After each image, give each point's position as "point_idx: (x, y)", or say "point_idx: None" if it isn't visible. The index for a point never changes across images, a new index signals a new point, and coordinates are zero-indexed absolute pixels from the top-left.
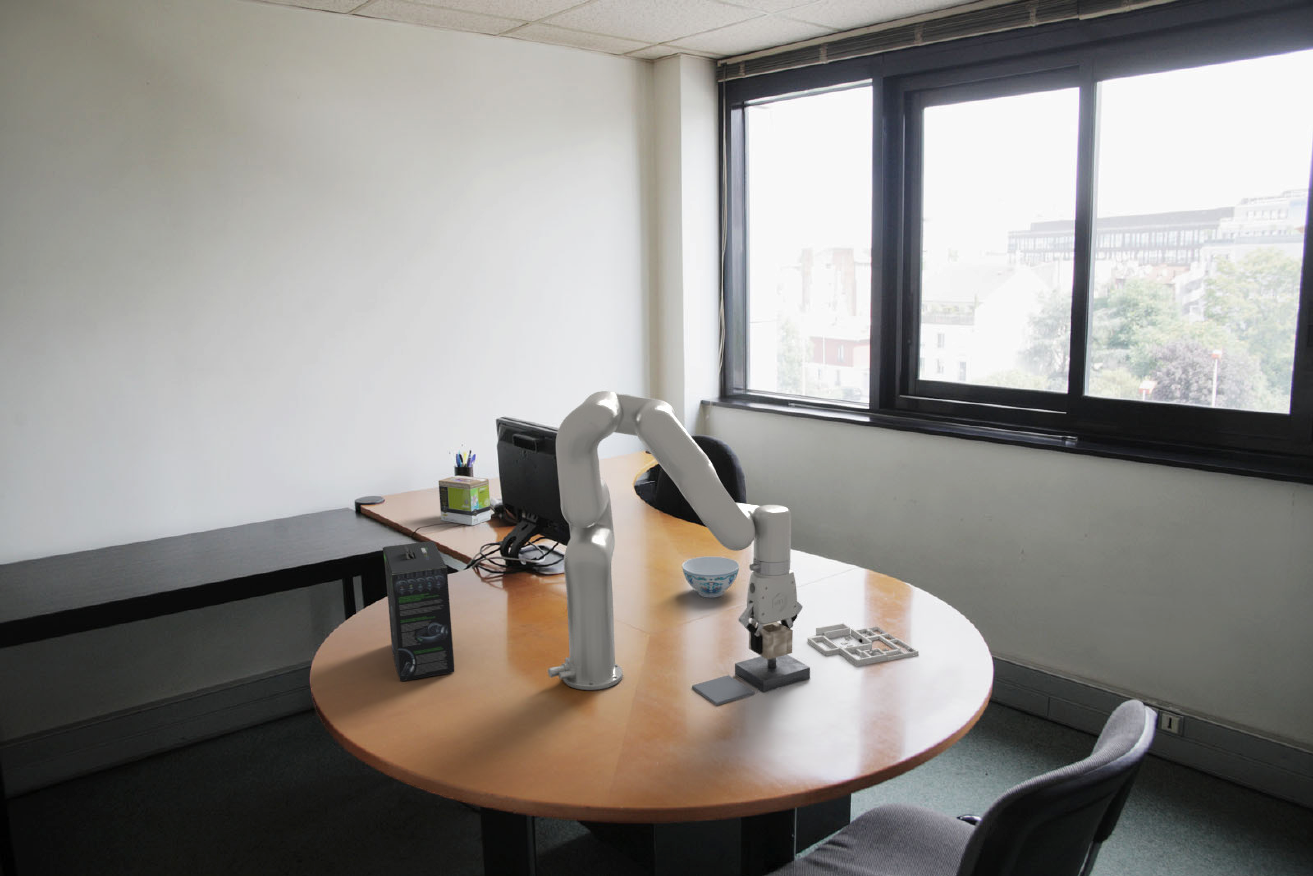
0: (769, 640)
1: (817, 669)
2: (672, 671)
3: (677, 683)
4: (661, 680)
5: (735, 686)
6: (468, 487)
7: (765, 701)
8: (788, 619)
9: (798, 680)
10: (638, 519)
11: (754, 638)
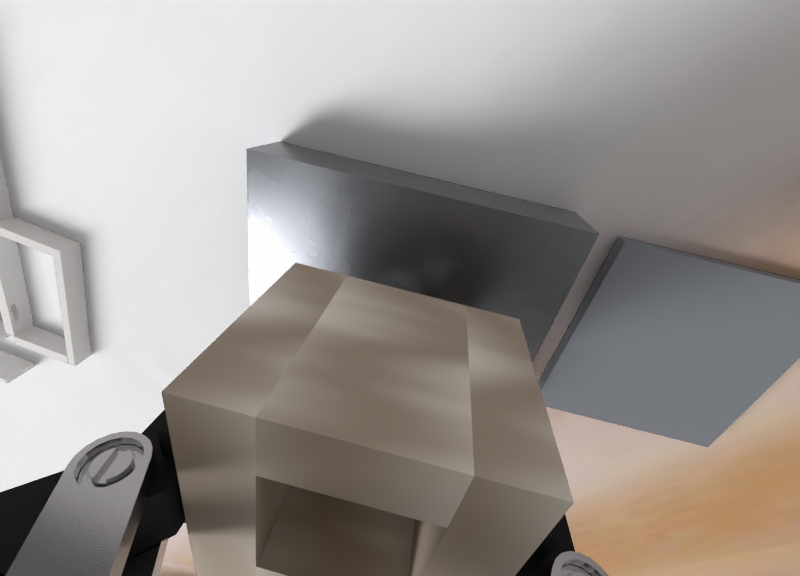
0: (529, 440)
1: (185, 183)
2: (601, 522)
3: (683, 482)
4: (687, 518)
5: (621, 332)
6: None
7: (667, 137)
8: (65, 568)
9: (351, 160)
10: None
11: (564, 537)
